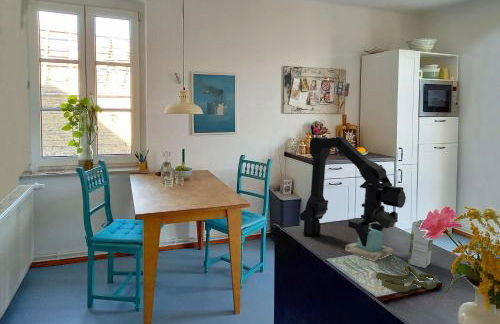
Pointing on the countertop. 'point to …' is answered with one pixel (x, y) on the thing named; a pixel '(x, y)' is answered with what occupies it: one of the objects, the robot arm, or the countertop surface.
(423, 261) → the syrup box
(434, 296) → the countertop surface
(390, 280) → the cookie cutter
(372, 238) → the turquoise block
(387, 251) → the socket base
